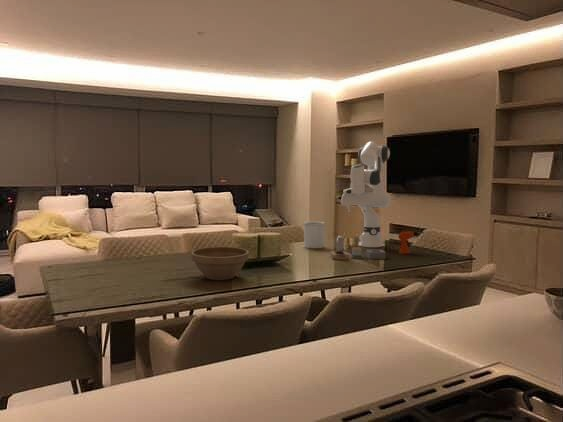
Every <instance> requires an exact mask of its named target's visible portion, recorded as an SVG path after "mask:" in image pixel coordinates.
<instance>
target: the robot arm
mask: <svg viewBox="0 0 563 422" xmlns="http://www.w3.org/2000/svg"><path fill="white" fill-rule="evenodd" d="M357 154H358V159H359V160H360V162H362V164H360V163H356V164H353V165H352V166H351V168H350V174H349V175H350V184H349V185H350V187H348V188H345V189H343V192H342V195H341V199H340V204H341V206H345V207H346V208H347V210H348V213H352V209H350V206H357V207H359V209H360V210H361V212H362V214H363V227H362V231H363V232H362V234H361V235H360V236H359V237H358V238H359V239H358V240H359V241H358V247H364V248H380V247H385V244H384V243H383V234H382V233H381V217H380V215H379V213H377V212H375V211H374V210H373V208H379V209H380V208H381V209H382V208H387V207H389V206H390V204H391V202H392V197H391V195H390V193H388V192H387V191H386V190H385V189H384V186H383V174H384V173H383V171H384V169H383V168H384V166H383V164H385V162H387V161H388V160H389V159H390V155H391V151H390V148H389V147H388V146H386V145H378V143H377V142H375V141H373V140H372V141H370V140H369V141H367V142H366V143H365V144H364V146H361V147H360V148H358V152H357ZM363 164H364V165H363ZM365 165H366V166H367V169H365ZM366 185H367V186H368V187H370V188H371V189H373V190H371V189H370V190H366V189H365V187H366Z"/></svg>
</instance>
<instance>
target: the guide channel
mask: <svg viewBox="0 0 563 422" xmlns="http://www.w3.org/2000/svg"><path fill="white" fill-rule="evenodd" d="M347 253H348V254H349V258H351V259H352V260H353V259H355V260H356V259H358V260H359V259H361V260H362V259H363V260H364V259H365V256H364V254H362V253H361V257H355V256H352V253H350V252H347Z"/></svg>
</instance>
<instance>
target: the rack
mask: <svg viewBox="0 0 563 422" xmlns="http://www.w3.org/2000/svg"><path fill="white" fill-rule="evenodd" d="M348 253H349V252H348V251H343V254H336V251H330V258H331V260H350V256H349V254H348Z"/></svg>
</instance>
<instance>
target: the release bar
mask: <svg viewBox="0 0 563 422" xmlns="http://www.w3.org/2000/svg"><path fill="white" fill-rule="evenodd" d="M351 251H352V252H351V255H352V256H355V257H361V254H362V248H361V247H352V248H351Z"/></svg>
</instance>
